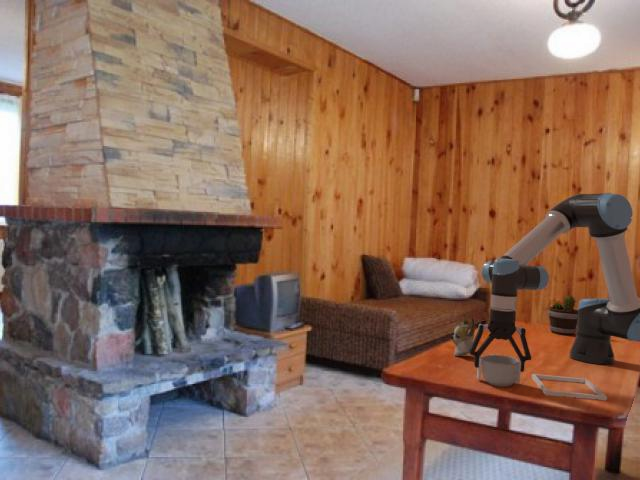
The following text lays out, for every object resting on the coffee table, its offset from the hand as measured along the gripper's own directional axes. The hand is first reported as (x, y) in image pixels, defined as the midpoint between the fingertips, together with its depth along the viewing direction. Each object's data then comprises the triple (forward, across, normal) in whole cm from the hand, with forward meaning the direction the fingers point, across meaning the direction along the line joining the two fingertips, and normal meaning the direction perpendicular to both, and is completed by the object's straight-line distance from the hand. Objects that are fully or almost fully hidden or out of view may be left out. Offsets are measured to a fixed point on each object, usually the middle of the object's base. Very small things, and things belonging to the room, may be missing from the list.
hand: (498, 380), depth 173 cm
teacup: (+1, 0, 0) cm, 1 cm away
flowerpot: (+1, -45, -100) cm, 110 cm away
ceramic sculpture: (+1, +8, -32) cm, 33 cm away
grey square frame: (+1, -20, 0) cm, 20 cm away
